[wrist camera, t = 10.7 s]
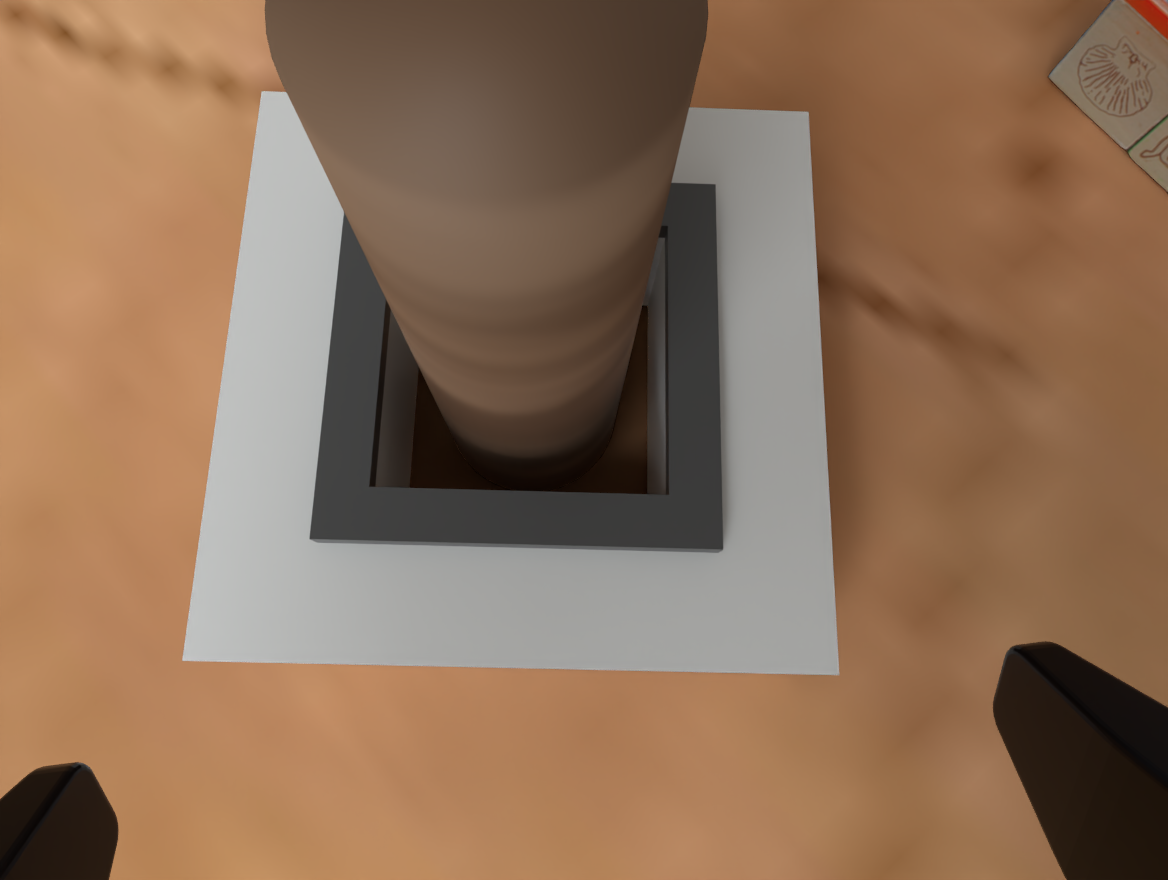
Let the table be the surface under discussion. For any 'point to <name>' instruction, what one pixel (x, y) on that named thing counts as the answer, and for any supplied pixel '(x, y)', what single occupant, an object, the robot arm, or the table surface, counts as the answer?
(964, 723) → the table surface
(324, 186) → the socket block
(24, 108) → the table surface
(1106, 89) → the stack of blocks
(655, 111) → the walnut peg
